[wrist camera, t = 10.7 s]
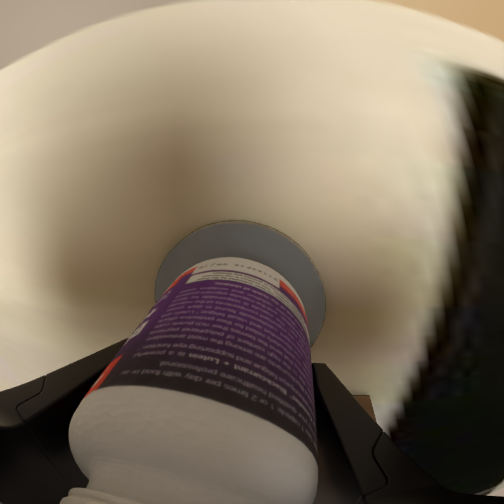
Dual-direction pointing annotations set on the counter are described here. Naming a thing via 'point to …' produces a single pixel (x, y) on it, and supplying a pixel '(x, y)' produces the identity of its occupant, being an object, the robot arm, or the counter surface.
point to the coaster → (252, 248)
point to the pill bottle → (205, 398)
